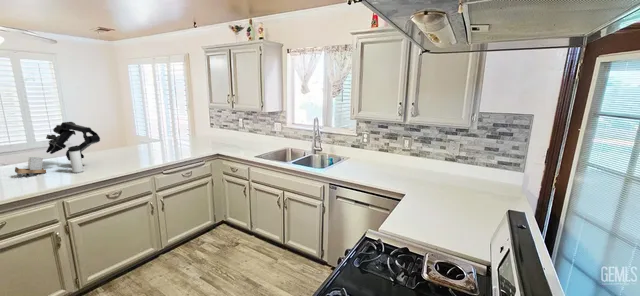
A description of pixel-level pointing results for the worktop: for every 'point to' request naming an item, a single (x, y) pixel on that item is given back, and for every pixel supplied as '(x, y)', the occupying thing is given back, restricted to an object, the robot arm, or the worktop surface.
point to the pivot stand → (27, 175)
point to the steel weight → (35, 163)
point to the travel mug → (75, 159)
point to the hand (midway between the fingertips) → (48, 153)
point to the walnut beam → (29, 171)
